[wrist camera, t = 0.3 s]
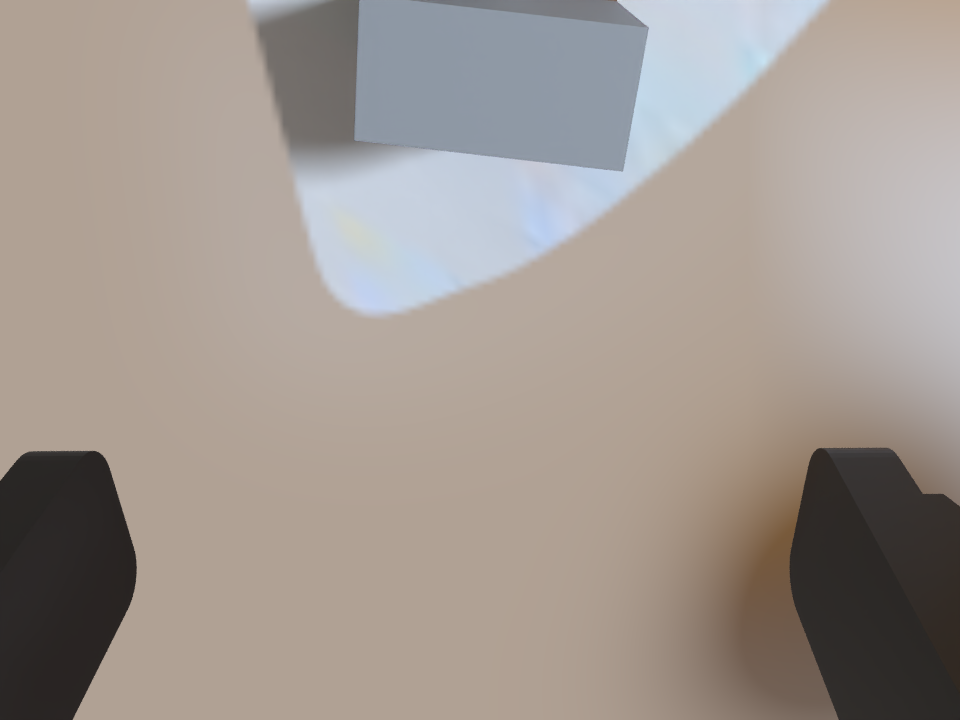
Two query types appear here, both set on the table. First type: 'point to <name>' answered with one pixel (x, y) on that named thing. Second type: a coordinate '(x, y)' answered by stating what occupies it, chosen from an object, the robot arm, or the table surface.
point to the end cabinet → (500, 78)
